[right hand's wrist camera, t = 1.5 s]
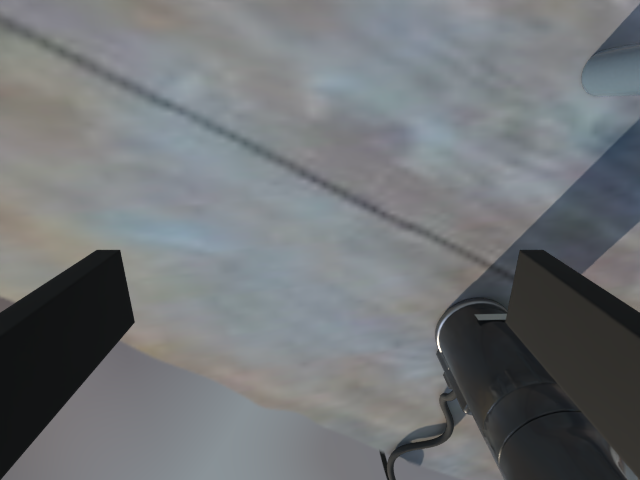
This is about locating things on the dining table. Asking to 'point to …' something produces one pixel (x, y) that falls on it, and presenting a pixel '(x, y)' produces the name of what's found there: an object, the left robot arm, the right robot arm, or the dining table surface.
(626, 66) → the bottle
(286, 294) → the dining table surface
